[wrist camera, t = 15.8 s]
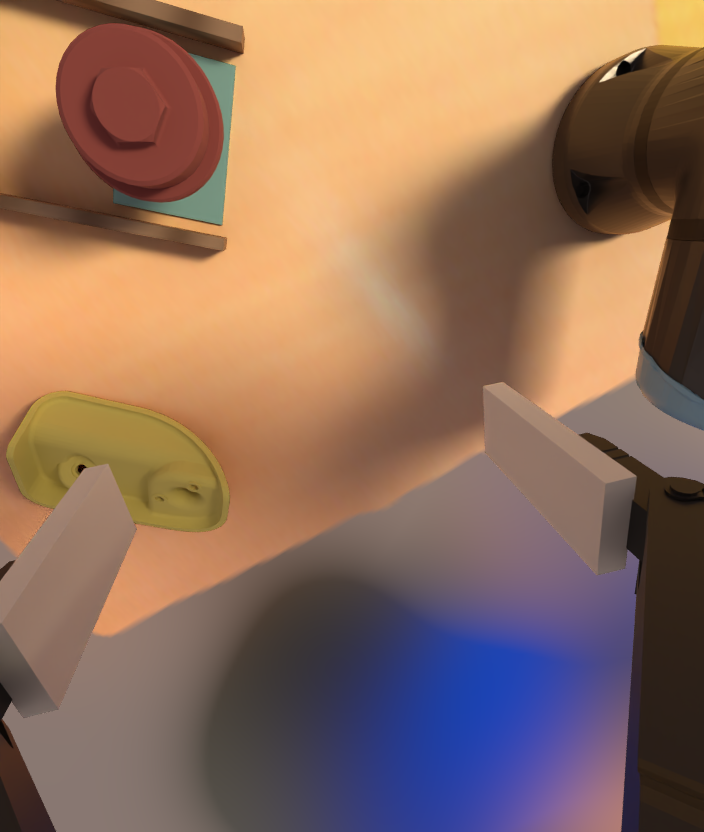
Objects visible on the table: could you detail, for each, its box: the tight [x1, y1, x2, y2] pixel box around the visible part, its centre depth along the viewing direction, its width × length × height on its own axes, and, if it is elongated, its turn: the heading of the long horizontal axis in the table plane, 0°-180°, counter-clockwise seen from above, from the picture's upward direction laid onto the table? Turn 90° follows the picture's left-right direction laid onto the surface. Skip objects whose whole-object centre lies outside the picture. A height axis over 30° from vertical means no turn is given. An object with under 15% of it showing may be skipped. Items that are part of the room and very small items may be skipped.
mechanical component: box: [56, 23, 224, 203], centre depth 32 cm, size 12×10×10 cm
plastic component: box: [6, 391, 230, 532], centre depth 47 cm, size 20×7×10 cm
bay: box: [0, 0, 245, 251], centre depth 36 cm, size 20×16×2 cm
